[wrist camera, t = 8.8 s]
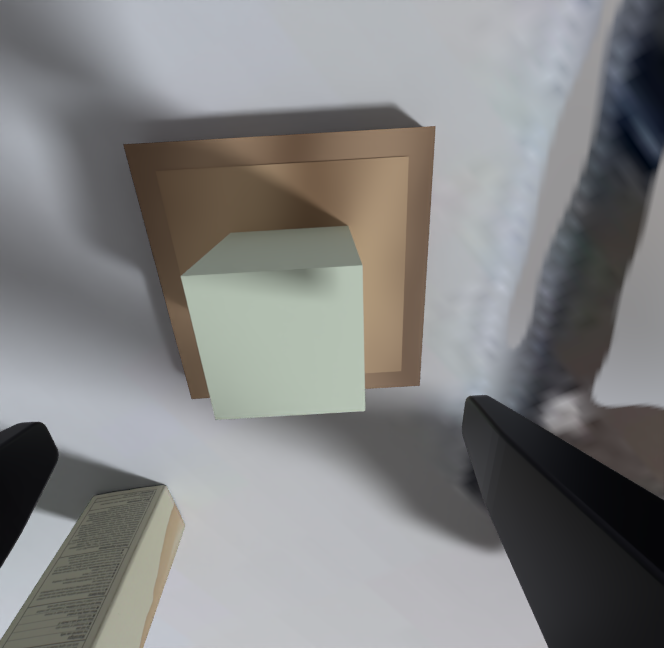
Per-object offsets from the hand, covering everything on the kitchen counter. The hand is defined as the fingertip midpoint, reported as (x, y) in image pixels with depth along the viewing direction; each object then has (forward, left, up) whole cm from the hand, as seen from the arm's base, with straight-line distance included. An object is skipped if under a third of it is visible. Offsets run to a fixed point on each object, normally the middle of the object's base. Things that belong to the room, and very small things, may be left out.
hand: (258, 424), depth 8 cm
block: (0, 0, -10) cm, 10 cm away
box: (+12, +16, -11) cm, 23 cm away
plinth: (0, 0, -11) cm, 11 cm away
